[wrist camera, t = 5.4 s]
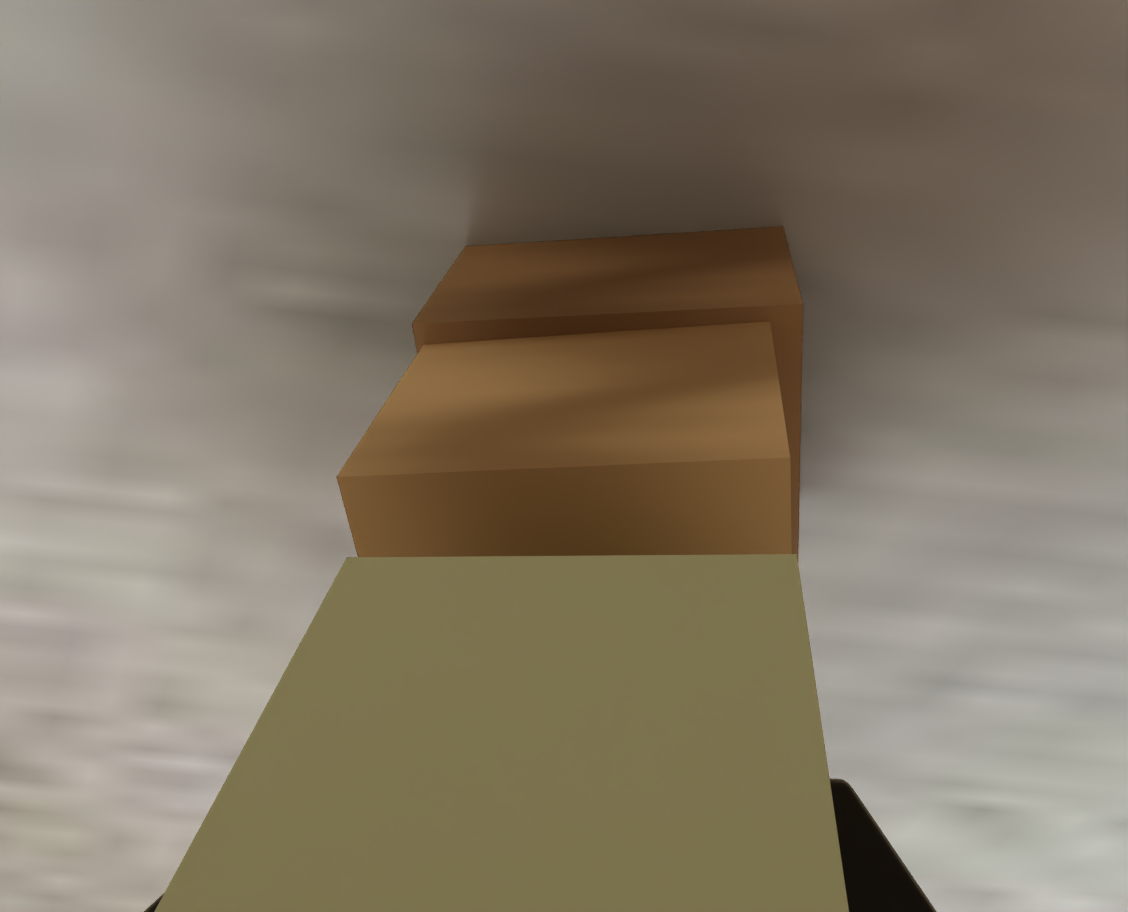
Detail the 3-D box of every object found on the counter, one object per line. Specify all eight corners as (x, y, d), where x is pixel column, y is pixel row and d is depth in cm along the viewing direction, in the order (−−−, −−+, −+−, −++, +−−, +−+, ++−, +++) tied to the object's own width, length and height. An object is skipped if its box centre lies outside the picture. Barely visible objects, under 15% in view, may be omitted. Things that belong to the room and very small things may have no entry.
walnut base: (782, 223, 15) (803, 304, 12) (779, 499, 17) (797, 624, 14) (467, 243, 16) (411, 323, 13) (506, 505, 18) (467, 625, 15)
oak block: (769, 321, 12) (790, 457, 9) (776, 610, 14) (794, 797, 11) (423, 344, 13) (336, 476, 10) (478, 614, 15) (421, 792, 12)
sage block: (796, 554, 8) (865, 1018, 5) (788, 869, 10) (833, 1364, 7) (346, 557, 9) (122, 973, 5) (419, 854, 11) (287, 1299, 7)
